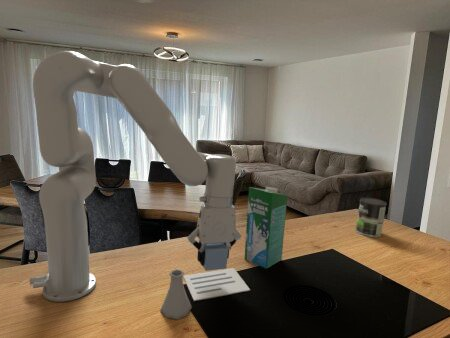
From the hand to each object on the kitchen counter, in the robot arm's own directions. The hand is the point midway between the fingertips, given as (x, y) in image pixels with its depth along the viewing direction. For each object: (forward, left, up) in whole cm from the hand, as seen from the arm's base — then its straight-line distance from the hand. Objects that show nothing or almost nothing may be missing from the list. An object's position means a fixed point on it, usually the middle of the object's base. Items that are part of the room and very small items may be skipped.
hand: (212, 261), depth 84 cm
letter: (+1, 0, -7) cm, 7 cm away
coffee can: (+77, +18, -7) cm, 79 cm away
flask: (-12, -8, -7) cm, 16 cm away
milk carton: (+21, +9, -7) cm, 24 cm away
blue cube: (0, 0, -1) cm, 1 cm away
